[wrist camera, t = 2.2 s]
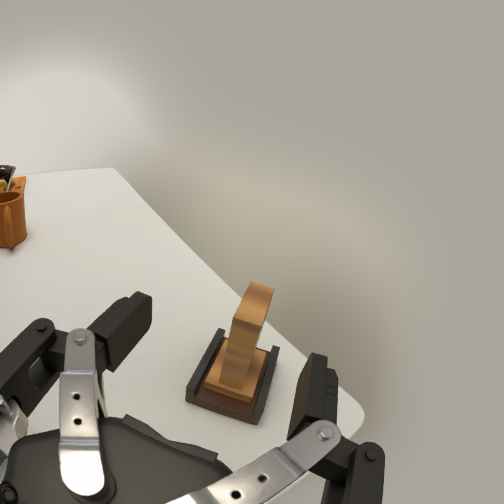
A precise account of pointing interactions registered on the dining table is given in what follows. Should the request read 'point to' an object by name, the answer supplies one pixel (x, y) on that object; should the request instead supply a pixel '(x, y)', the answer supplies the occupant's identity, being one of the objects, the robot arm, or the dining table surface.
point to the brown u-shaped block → (225, 403)
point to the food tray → (10, 179)
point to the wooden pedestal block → (242, 348)
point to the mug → (12, 218)
